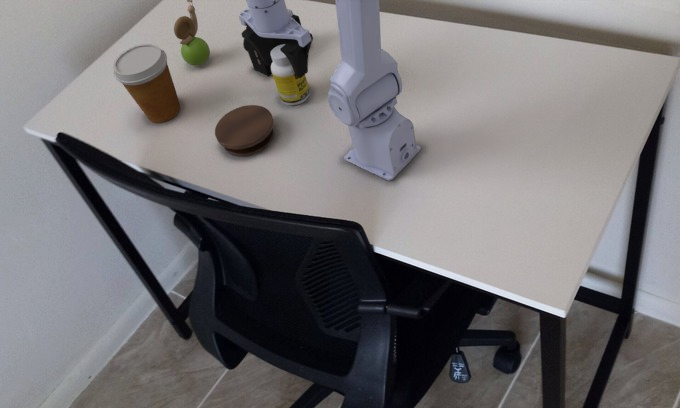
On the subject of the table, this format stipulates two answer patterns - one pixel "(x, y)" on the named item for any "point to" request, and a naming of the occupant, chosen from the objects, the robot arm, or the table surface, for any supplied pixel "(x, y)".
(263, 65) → the digital camera
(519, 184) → the table surface
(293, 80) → the supplement bottle
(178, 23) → the snail figurine
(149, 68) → the disposable coffee cup
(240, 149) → the stand
